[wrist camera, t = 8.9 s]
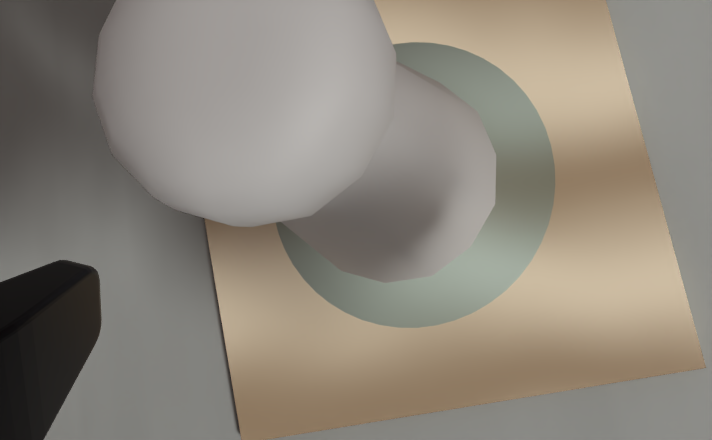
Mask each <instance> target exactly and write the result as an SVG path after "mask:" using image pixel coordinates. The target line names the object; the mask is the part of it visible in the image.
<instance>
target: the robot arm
mask: <svg viewBox="0 0 712 440" xmlns="http://www.w3.org/2000/svg"><path fill="white" fill-rule="evenodd" d="M100 329H101V301H100V280H99V275H98V272H97V271H96V269H94V268H93V267H91V266H88V265H84V264H80V263H76V262H72V261H68V260H59V261H56V262H53V263H50V264H47V265H45V266H42V267H39V268H37V269H34V270H32V271H29V272H26V273H24V274H21V275H18V276H16V277H13V278H10V279H8V280H5V281H3V282H0V440H44V438H45V436H46V434H47V432H48V431H49V429H50V427H51V425H52V423H53V421H54V419H55V418H56V416H57V414H58V412H59V410H60V408H61V406H62V405H63V403H64V401H65V399H66V397H67V395H68V394H69V392H70V390H71V388H72V386H73V384H74V382H75V381H76V379H77V377H78V375H79V373H80V371H81V369H82V368H83V366H84V364H85V362H86V360H87V358H88V357H89V355H90V353H91V351H92V349H93V347H94V345H95V343H96V341H97V339H98V336H99V333H100Z"/></svg>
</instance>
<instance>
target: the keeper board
mask: <svg viewBox="0 0 712 440" xmlns="http://www.w3.org/2000/svg"><path fill="white" fill-rule="evenodd" d="M374 1H375V4H376V6H377V9H378V11H379V13H380V16H381V18H382V20H383V23H384V25H385V28H386V30H387V32H388V35H389V37H390V40H391V42H392V44H393V47H394V49H395V51H396V61H397V62H399V63H401V64H403V65H405V66H407V67H409V68H411V69H413V70H415V71H417V72H419V73H421V74H423V75H425V76H427V77H429V78H431V79H433V80H435V81H437V82H439V83H441V84H442V85H444V86H445V87H446V88H448V89H449V90H450V91H452V92H453V93H454V94H455V95H457V96H458V97H459V98H461V99H462V100H463V101H465V102H466V103H467V104H468V105H470V106H471V107H472V108H474V109H475V110H476V111H477V112H478V113H479V116H480V118H481V120H482V123H483V125H484V127H485V130H486V132H487V134H488V137H489V139H490V141H491V144H492V146H493V148H494V151H495V153H496V194H495V205H494V207H493V209H492V211H491V212H490V214H489V216H488V218H487V219H486V221H485V223H484V225H483V226H482V228H481V230H480V232H479V233H478V235H477V237H476V239H475V240H474V242H473V244H472V245H471V247H470V248H468V249H467V250H466V251H465V252H463V253H462V254H461V255H459V256H458V257H457V258H455V259H454V260H453V261H451V262H450V263H449V264H447V265H446V266H445V267H443V268H442V269H441V270H439V271H438V272H437V273H435V274H434V275H433V276H430V277H423V278H416V279H409V280H403V281H396V282H389V283H382V282H379V281H375V280H372V279H368V278H365V277H361V276H357V275H354V274H350V273H347V272H343V271H341V270H339V269H338V268H337V267H336V266H334V265H333V264H332V263H331V262H330V261H328V260H327V259H326V258H325V257H323V256H322V255H321V254H320V253H318V252H317V251H316V250H315V249H314V248H312V247H311V246H310V245H309V244H307V243H306V242H305V241H304V240H302V239H301V238H300V237H299V236H298V235H296V234H295V233H294V232H293V231H291V230H290V229H289V228H288V227H286V226H285V225H284V224H283V223H282V222H276V223H271V224H266V225H260V226H255V227H238V226H230V225H227V224H223V223H220V222H216V221H213V220H209V219H206V218H204V219H205V225H206V231H207V237H208V243H209V249H210V255H211V261H212V267H213V273H214V279H215V285H216V291H217V297H218V303H219V309H220V315H221V321H222V327H223V333H224V339H225V345H226V351H227V357H228V362H229V368H230V374H231V380H232V386H233V392H234V398H235V404H236V410H237V416H238V422H239V428H240V434H241V440H266V439H272V438H278V437H284V436H290V435H297V434H303V433H309V432H315V431H321V430H327V429H333V428H340V427H346V426H352V425H358V424H364V423H370V422H376V421H383V420H389V419H395V418H401V417H407V416H413V415H419V414H426V413H432V412H438V411H444V410H450V409H456V408H462V407H469V406H475V405H481V404H487V403H493V402H499V401H505V400H512V399H518V398H524V397H530V396H536V395H542V394H548V393H555V392H561V391H567V390H573V389H579V388H585V387H591V386H598V385H604V384H610V383H616V382H622V381H628V380H634V379H641V378H647V377H653V376H659V375H665V374H671V373H678V372H684V371H690V370H696V369H702V368H706V366H705V362H704V359H703V355H702V351H701V348H700V344H699V340H698V337H697V333H696V329H695V326H694V322H693V318H692V315H691V311H690V307H689V304H688V300H687V296H686V293H685V289H684V285H683V282H682V278H681V274H680V271H679V267H678V263H677V260H676V256H675V252H674V249H673V245H672V241H671V238H670V234H669V230H668V227H667V223H666V219H665V216H664V212H663V208H662V205H661V201H660V197H659V194H658V190H657V186H656V183H655V179H654V175H653V172H652V168H651V164H650V161H649V157H648V153H647V150H646V146H645V142H644V139H643V135H642V131H641V128H640V124H639V120H638V117H637V113H636V109H635V106H634V102H633V98H632V95H631V91H630V87H629V84H628V80H627V76H626V73H625V69H624V65H623V62H622V58H621V54H620V51H619V47H618V43H617V40H616V36H615V32H614V29H613V25H612V21H611V18H610V14H609V10H608V7H607V3H606V0H374Z"/></svg>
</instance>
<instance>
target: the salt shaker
mask: <svg viewBox="0 0 712 440" xmlns="http://www.w3.org/2000/svg"><path fill="white" fill-rule="evenodd" d="M93 100H94V103H95V106H96V109H97V112H98V115H99V118H100V121H101V124H102V127H103V130H104V133H105V135H106V138H107V141H108V144H109V147H110V150H111V153H112V155H113V156H114V157H115V158H116V159H117V160H118V161H119V162H120V163H121V165H122V166H123V167H124V168H125V169H126V170H127V171H128V172H129V173H130V174H131V175H132V176H133V177H134V178H135V179H136V180H137V181H138V182H139V183H140V184H141V185H142V186H143V187H144V188H145V189H146V190H147V191H148V192H149V193H150V194H151V195H152V197H154V198H155V199H157V200H159V201H160V202H162V203H164V204H166V205H167V206H169V207H171V208H173V209H174V210H177V211H181V212H184V213H188V214H191V215H195V216H198V217H202V218H206V219H209V220H213V221H216V222H220V223H223V224H227V225H230V226H238V227H255V226H260V225H266V224H271V223H276V222H282V223H283V224H284V225H285V226H286V227H288V228H289V229H290V230H291V231H293V232H294V233H295V234H296V235H298V236H299V237H300V238H301V239H302V240H304V241H305V242H306V243H307V244H309V245H310V246H311V247H312V248H314V249H315V250H316V251H317V252H318V253H320V254H321V255H322V256H323V257H325V258H326V259H327V260H328V261H330V262H331V263H332V264H333V265H334V266H336V267H337V268H338V269H339V270H341V271H343V272H347V273H350V274H354V275H357V276H361V277H365V278H368V279H372V280H375V281H379V282H382V283H389V282H396V281H403V280H409V279H416V278H423V277H430V276H433V275H434V274H435V273H437V272H438V271H439V270H441V269H442V268H443V267H445V266H446V265H447V264H449V263H450V262H451V261H453V260H454V259H455V258H457V257H458V256H459V255H461V254H462V253H463V252H465V251H466V250H467V249H468V248H470V247H471V245H472V244H473V242H474V240H475V239H476V237H477V235H478V233H479V232H480V230H481V228H482V226H483V225H484V223H485V221H486V219H487V218H488V216H489V214H490V212H491V211H492V209H493V207H494V205H495V194H496V153H495V151H494V148H493V146H492V144H491V141H490V139H489V137H488V134H487V132H486V130H485V127H484V125H483V123H482V120H481V118H480V116H479V113H478V112H477V111H476V110H475V109H474V108H472V107H471V106H470V105H468V104H467V103H466V102H465V101H463V100H462V99H461V98H459V97H458V96H457V95H455V94H454V93H453V92H452V91H450V90H449V89H448V88H446V87H445V86H444V85H442V84H441V83H439V82H437V81H435V80H433V79H431V78H429V77H427V76H425V75H423V74H421V73H419V72H417V71H415V70H413V69H411V68H409V67H407V66H405V65H403V64H401V63H399V62H397V61H396V51H395V49H394V47H393V44H392V42H391V40H390V37H389V35H388V32H387V30H386V28H385V25H384V23H383V20H382V18H381V16H380V13H379V11H378V9H377V6H376V4H375V1H374V0H116V1H115V3H114V5H113V7H112V9H111V11H110V13H109V15H108V17H107V19H106V21H105V23H104V25H103V28H102V30H101V32H100V34H99V39H98V49H97V59H96V68H95V78H94V88H93Z"/></svg>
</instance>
